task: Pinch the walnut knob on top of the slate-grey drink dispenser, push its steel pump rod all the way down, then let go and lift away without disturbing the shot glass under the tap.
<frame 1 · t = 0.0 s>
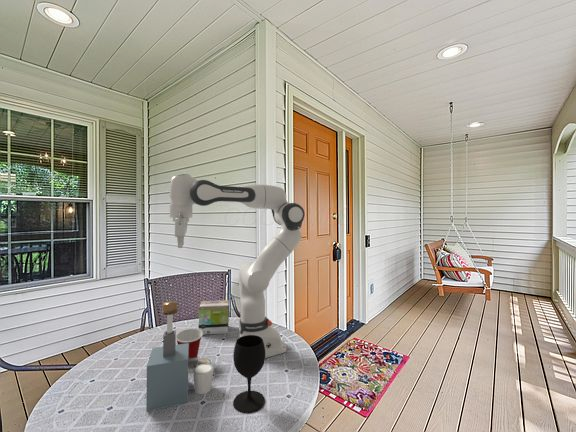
hand: (180, 246, 111), 48 cm above the table, tool pointing down, fingers open, 8 cm apart
tea box: (214, 331, 142), on the table
dispenser: (169, 394, 90), on the table
shot glass: (203, 388, 94), on the table
plastic cup: (189, 363, 110), on the table
pump plunger: (169, 318, 90), point 26 cm above the table, slide at 0.0 cm
wine glass: (249, 402, 87), on the table
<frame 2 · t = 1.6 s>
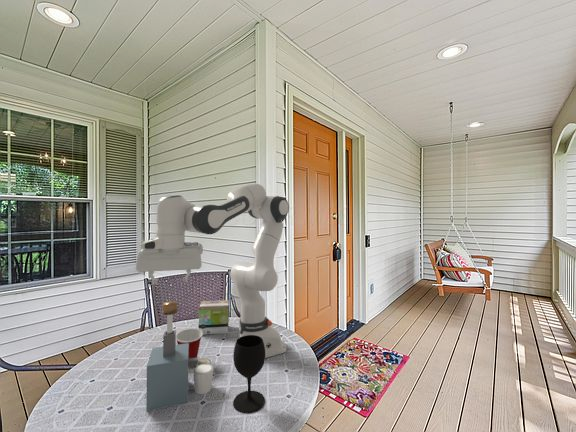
hand: (170, 283, 90), 38 cm above the table, tool pointing down, fingers open, 8 cm apart
nothing on the table moved.
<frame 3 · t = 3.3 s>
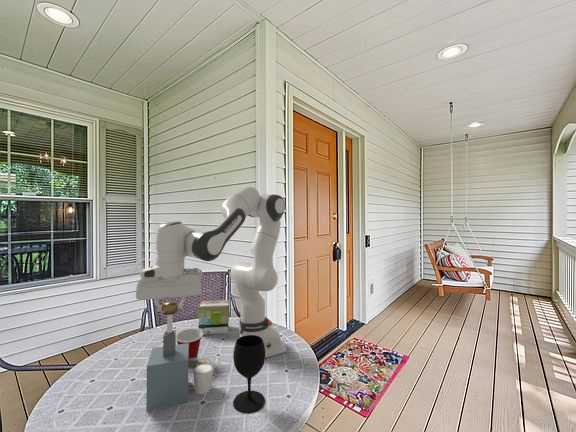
hand: (169, 310, 90), 29 cm above the table, tool pointing down, fingers closed on pump plunger, 5 cm apart
pump plunger: (169, 318, 90), point 26 cm above the table, slide at 0.0 cm, touching gripper
everything else where it was.
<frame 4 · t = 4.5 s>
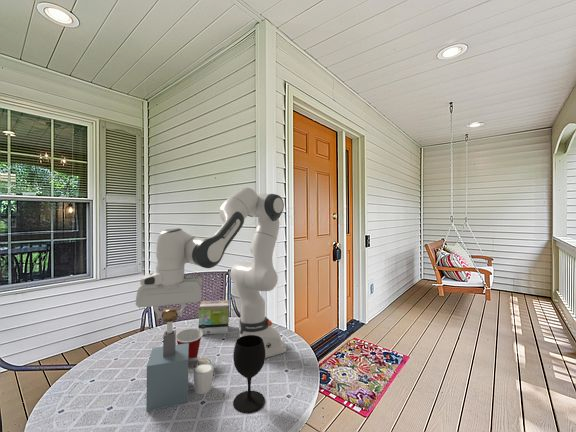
hand: (169, 317, 90), 26 cm above the table, tool pointing down, fingers closed on pump plunger, 5 cm apart
pump plunger: (169, 325, 90), point 23 cm above the table, slide at 2.4 cm, touching gripper
everything else where it was.
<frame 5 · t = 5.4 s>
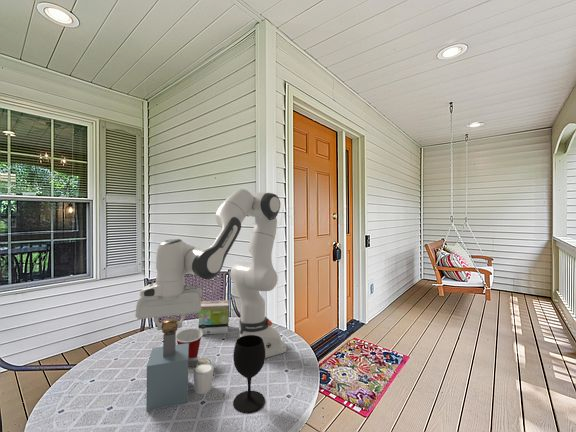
hand: (169, 328, 90), 23 cm above the table, tool pointing down, fingers closed on pump plunger, 5 cm apart
pump plunger: (169, 336, 90), point 20 cm above the table, slide at 6.1 cm, touching gripper
everything else where it was.
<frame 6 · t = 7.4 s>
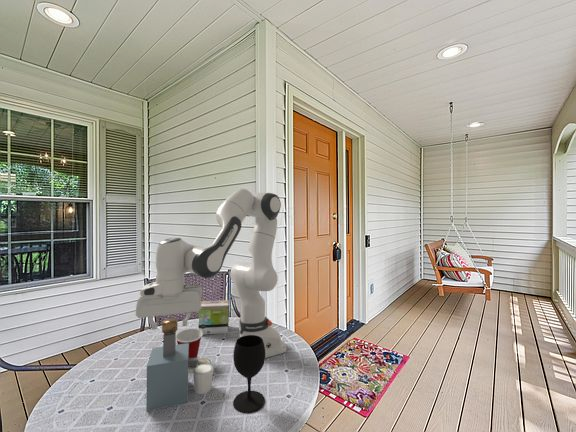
hand: (170, 327, 90), 23 cm above the table, tool pointing down, fingers open, 8 cm apart
pump plunger: (169, 336, 90), point 20 cm above the table, slide at 6.1 cm
everything else where it was.
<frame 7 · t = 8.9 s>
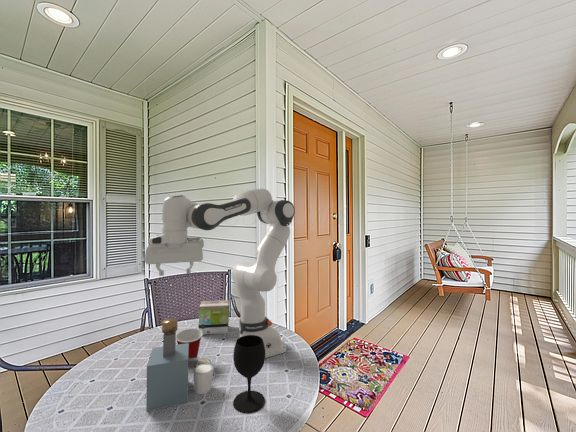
hand: (175, 274, 101), 39 cm above the table, tool pointing down, fingers open, 8 cm apart
nothing on the table moved.
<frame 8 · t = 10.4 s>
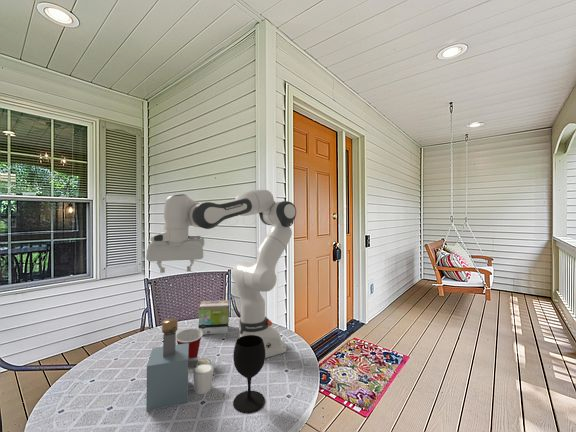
hand: (175, 271, 103), 39 cm above the table, tool pointing down, fingers open, 8 cm apart
nothing on the table moved.
at the end: pump plunger slide at 6.1 cm; the gripper is holding nothing; shot glass moved 0.2 cm from its start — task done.
